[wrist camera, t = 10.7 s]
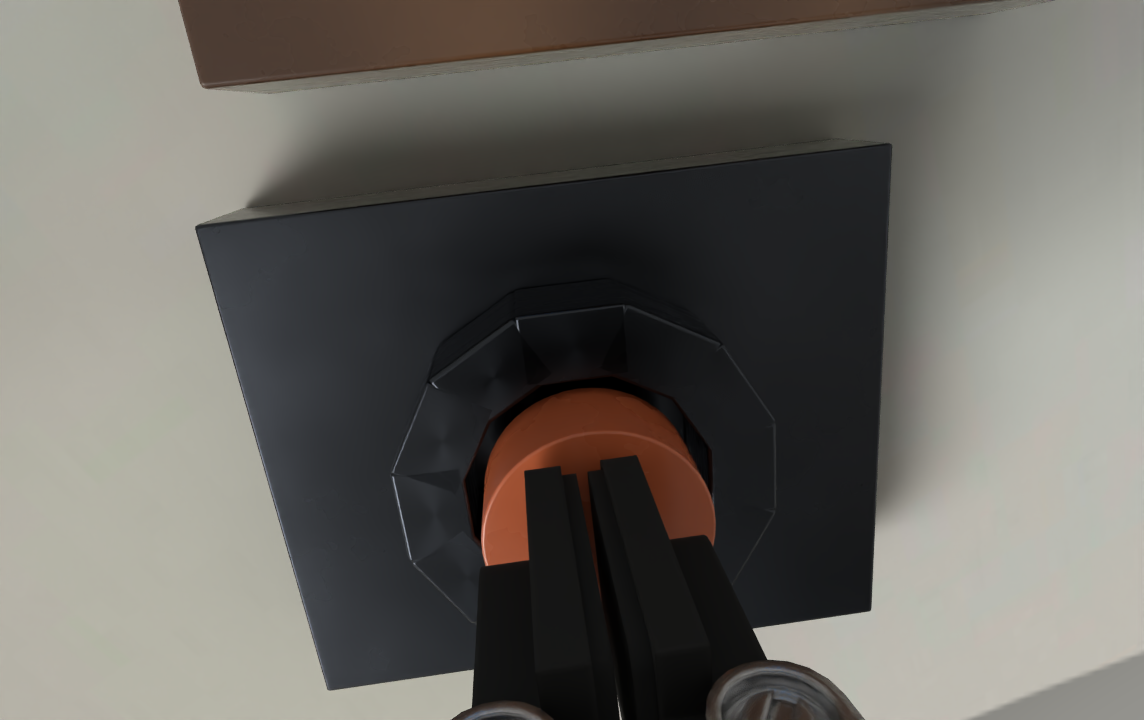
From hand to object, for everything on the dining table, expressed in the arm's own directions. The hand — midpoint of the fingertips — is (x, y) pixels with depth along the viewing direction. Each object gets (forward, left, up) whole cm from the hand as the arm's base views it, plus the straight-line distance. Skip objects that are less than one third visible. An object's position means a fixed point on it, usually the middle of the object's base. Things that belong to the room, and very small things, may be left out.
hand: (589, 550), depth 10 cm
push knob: (0, 0, -2) cm, 2 cm away
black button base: (0, 0, -6) cm, 6 cm away
